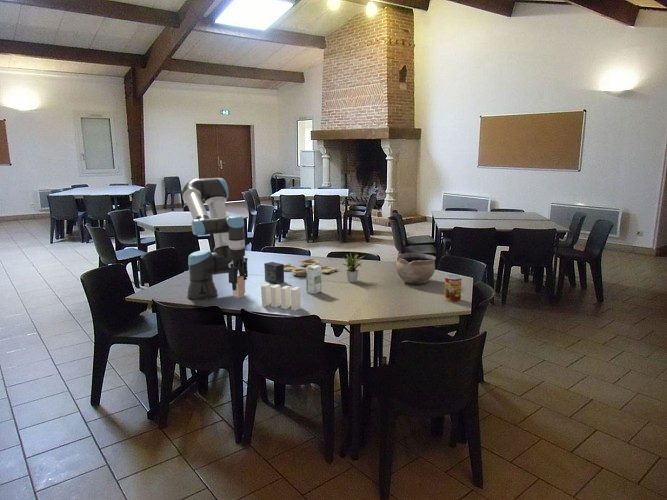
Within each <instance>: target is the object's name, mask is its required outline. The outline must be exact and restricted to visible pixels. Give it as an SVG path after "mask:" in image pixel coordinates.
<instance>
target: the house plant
mask: <svg viewBox="0 0 667 500" xmlns="http://www.w3.org/2000/svg"><path fill="white" fill-rule="evenodd" d="M349 254H350V256H349V255H348V254H346V258H345V257H343V256H342V257H343V259H344V260H345V261H346V263H341V265H343V266H346V267H347V269H345V272H346V279H347V282H349V283H357V281H358V276H359V275H358V274H359V269H357V268H358V267H361V266H362V265H363V264H362V263H363V260H364V257H365V255H363V256H360V257H358V256H359V254H357V253H355V254H354V256H353V255H352V253H351V252H350V253H349ZM359 261H362V262H359Z"/></svg>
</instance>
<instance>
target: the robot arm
mask: <svg viewBox="0 0 667 500" xmlns="http://www.w3.org/2000/svg"><path fill="white" fill-rule="evenodd" d="M181 196H182V200H183V202H184V203H185V204H186V205H187V207H188V210H189V212H190V215H191V218H192V220H191V231H192V234H193V235H194V236H204V235H205V236H206V235H213V239H214V244H215V246H214V248H213V252H212V251H211V250H209V249H202V250H197V251H194V252H192V253H190V254H189V255H188V257H187V258H188V260H187V265H188V273H189V284H188V287H187V289H188V290H187V292H186V293H187V298H188V299H190V298H191V299H190V300H207V299H206V298H208V299H211V298H210V297H212V298H214V297H213V296H215V297H216V296H217V295H218V289H217V288H216V285H215V282H214V277H213V276H215V275H221V274H228V283H229V284H231V288H232V297H234V296H237V297H238V296H239V295H238V283H237V276H243V277H244V294H246V280H248V277H249V275H248V260H249V259H248V257H245V256H246V248H245V247H246V246H245V244H246V243H245V242H246V241H245V221H244V217H243V216H242V215H239V214H238V215H236V214H235V215H227V211H226V205H225V204H226V202H227V199H228V198H229V197H230V193H229V186H228V184H227V181H226V180H225V179H224V178H222V177H212V178H211V177H207V178H206V177H205V178H194V179H191V180H189V181H188V182H186V184H185V185H183V187H182V191H181ZM203 201H204V202H203ZM204 204H205V205H207V207H208V210H209V212H208V211H207V209H206V206H205V205H204ZM208 213H209V214H208ZM238 274H239V275H238Z"/></svg>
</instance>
